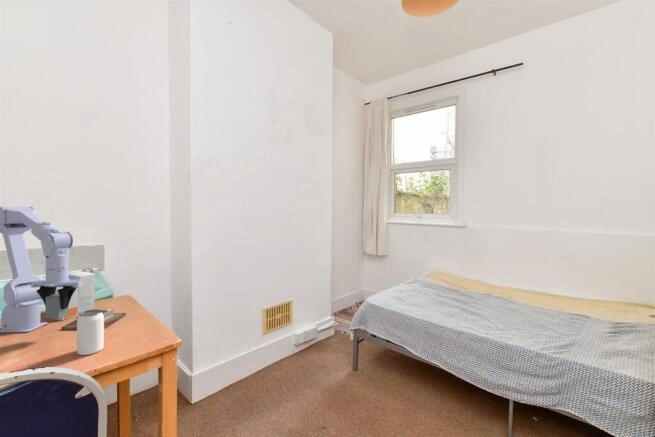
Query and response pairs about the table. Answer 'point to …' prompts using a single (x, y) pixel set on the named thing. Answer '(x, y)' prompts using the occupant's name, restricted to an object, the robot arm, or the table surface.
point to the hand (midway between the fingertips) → (57, 308)
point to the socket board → (108, 319)
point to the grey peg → (54, 307)
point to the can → (90, 332)
